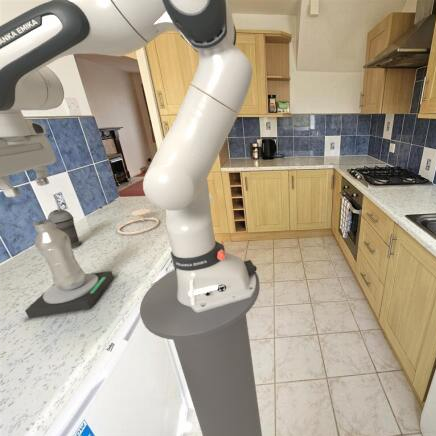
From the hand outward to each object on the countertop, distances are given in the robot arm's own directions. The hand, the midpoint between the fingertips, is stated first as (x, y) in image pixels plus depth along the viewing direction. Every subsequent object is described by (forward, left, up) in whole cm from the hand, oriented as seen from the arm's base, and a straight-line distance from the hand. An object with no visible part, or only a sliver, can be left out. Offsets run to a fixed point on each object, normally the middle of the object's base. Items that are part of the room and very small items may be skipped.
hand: (30, 190), depth 58 cm
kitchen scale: (+1, +1, -31) cm, 31 cm away
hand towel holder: (0, -48, -32) cm, 58 cm away
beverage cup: (+20, -33, -32) cm, 50 cm away
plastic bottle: (0, +1, -28) cm, 28 cm away
